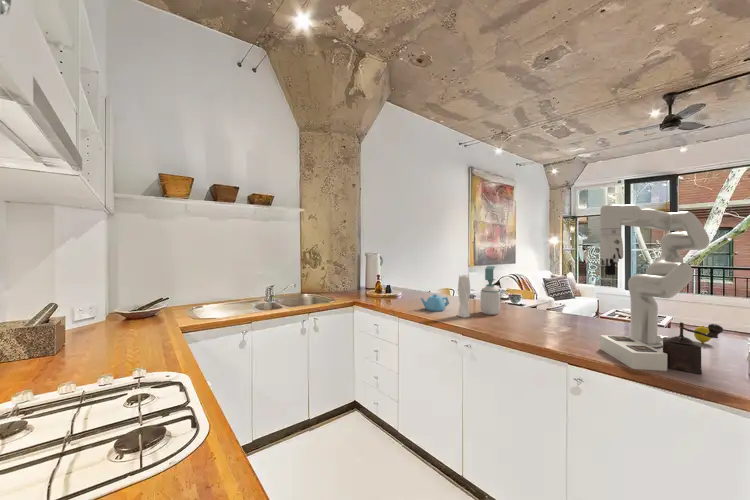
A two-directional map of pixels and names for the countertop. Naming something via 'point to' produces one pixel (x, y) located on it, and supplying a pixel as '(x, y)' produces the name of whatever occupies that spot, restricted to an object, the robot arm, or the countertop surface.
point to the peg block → (634, 353)
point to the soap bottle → (490, 294)
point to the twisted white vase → (464, 296)
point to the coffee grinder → (687, 349)
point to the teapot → (435, 303)
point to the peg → (640, 348)
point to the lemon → (701, 337)
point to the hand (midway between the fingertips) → (610, 274)
